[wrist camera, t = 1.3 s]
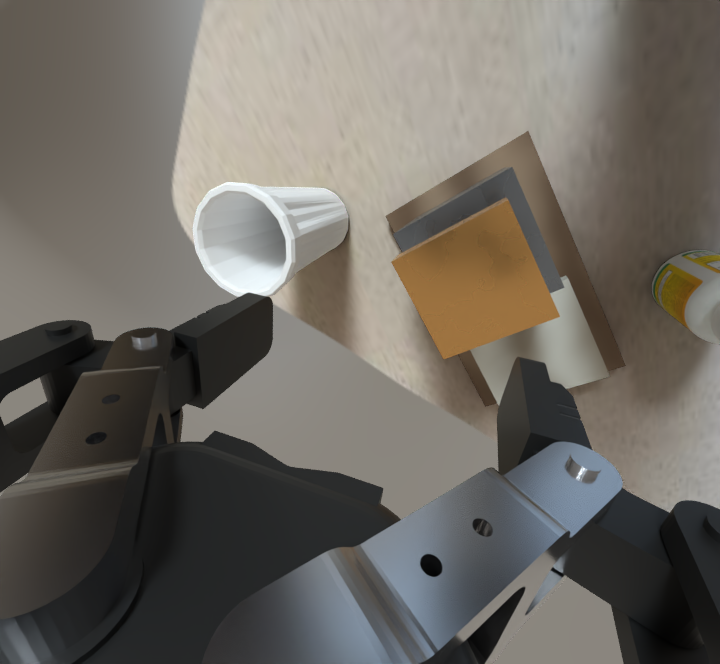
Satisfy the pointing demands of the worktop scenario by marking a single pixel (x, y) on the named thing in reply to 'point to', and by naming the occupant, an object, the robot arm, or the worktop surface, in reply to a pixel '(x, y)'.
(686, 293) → the supplement bottle
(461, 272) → the plunger
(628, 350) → the worktop surface
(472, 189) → the open box
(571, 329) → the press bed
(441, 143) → the worktop surface
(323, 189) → the cup
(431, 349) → the worktop surface
